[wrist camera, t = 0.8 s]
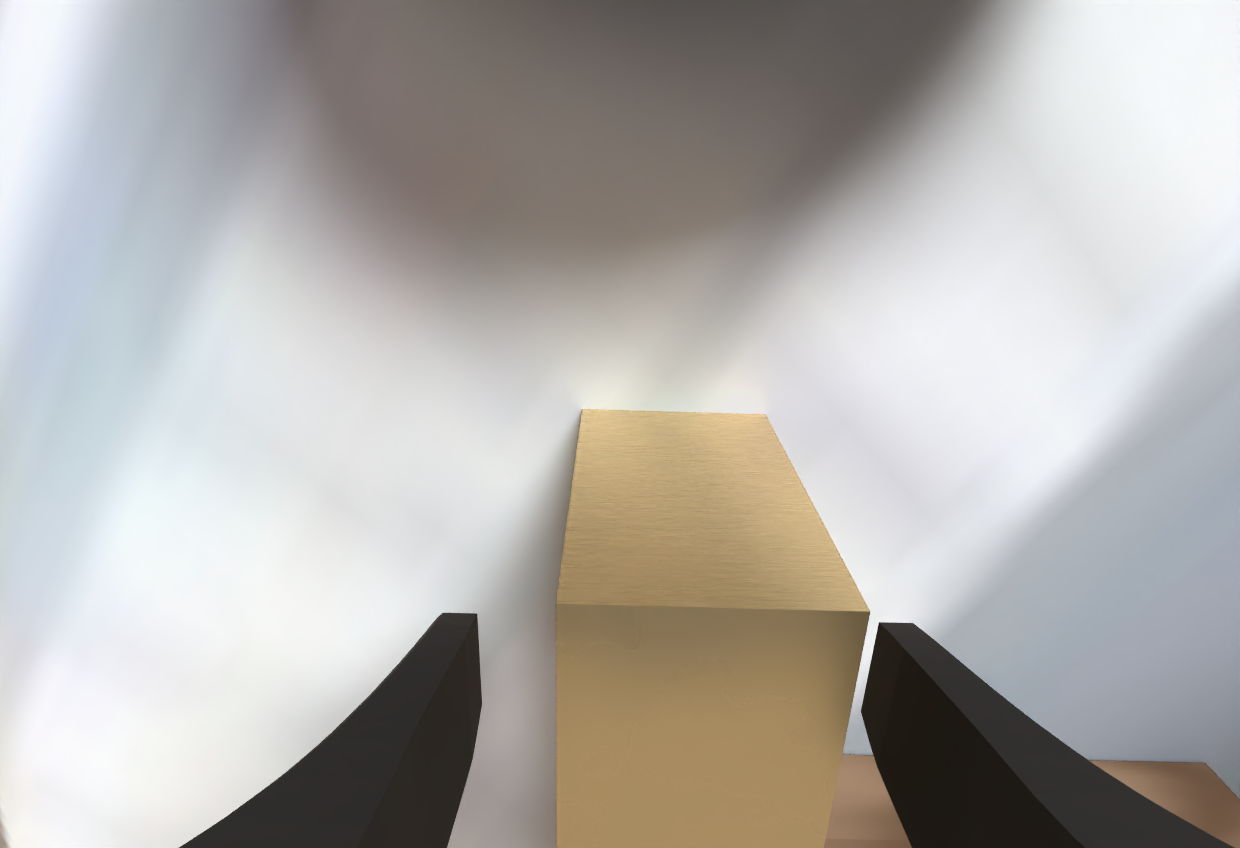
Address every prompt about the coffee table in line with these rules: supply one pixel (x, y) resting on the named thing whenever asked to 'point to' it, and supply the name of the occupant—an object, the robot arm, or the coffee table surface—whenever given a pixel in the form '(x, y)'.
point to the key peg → (698, 640)
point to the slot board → (877, 844)
